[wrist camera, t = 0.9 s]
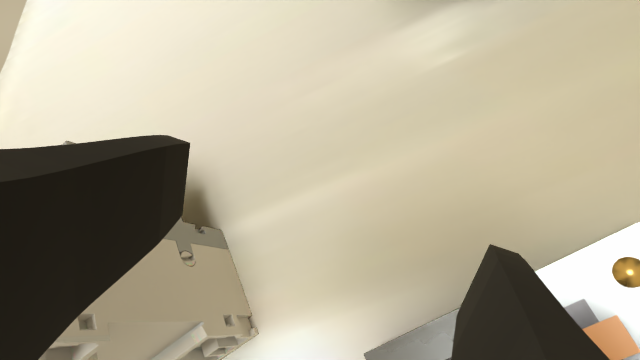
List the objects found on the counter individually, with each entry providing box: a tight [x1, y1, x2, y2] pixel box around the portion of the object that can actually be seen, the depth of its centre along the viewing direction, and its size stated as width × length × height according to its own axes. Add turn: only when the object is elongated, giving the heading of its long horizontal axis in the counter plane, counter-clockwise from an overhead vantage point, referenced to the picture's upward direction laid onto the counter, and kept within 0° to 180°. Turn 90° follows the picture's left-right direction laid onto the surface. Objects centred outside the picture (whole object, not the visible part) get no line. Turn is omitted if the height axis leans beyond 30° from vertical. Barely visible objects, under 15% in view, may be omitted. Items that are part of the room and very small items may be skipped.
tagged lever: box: [582, 315, 640, 360], centre depth 18 cm, size 1×3×3 cm, turn 114°
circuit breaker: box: [39, 141, 259, 360], centre depth 29 cm, size 8×14×15 cm, turn 29°
